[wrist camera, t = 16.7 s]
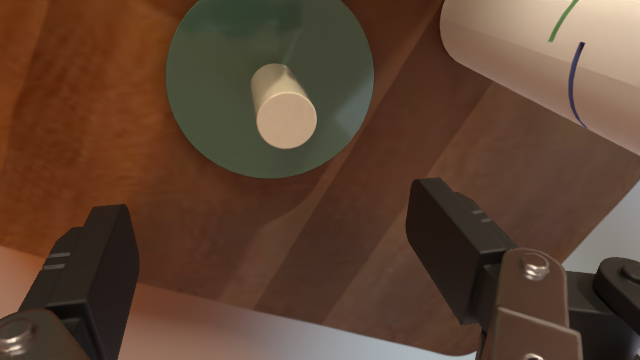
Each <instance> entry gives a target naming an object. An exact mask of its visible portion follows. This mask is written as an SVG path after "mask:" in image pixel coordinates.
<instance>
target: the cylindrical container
mask: <svg viewBox="0 0 640 360" xmlns="http://www.w3.org/2000/svg"><path fill="white" fill-rule="evenodd" d="M440 34H441V39H442V42H443V45H444V47H445V49H446V51H447V52H448V54H449V55H450V56H451V57H452V58H453V59H454V60H455V61H456V62H458V63H460V64H462V65H464V66H466V67H468V68H470V69H472V70H473V71H475V72H477V73H479V74H481V75H483V76H485V77H487V78H489V79H491V80H493V81H495V82H497V83H499V84H501V85H503V86H505V87H507V88H509V89H511V90H512V91H514V92H516V93H518V94H520V95H522V96H524V97H526V98H528V99H530V100H532V101H534V102H536V103H538V104H540V105H542V106H544V107H546V108H548V109H550V110H551V111H553V112H555V113H557V114H559V115H561V116H563V117H565V118H567V119H569V120H571V121H573V122H575V123H577V124H579V125H581V126H583V127H585V128H587V129H589V130H590V131H592V132H595V133H596V134H598V135H600V136H602V137H604V138H606V139H608V140H610V141H612V142H614V143H616V144H618V145H620V146H622V147H624V148H626V149H628V150H629V151H631V152H633V153H635V154H637V155H639V156H640V0H445V1H444V4H443V7H442V11H441V16H440Z"/></svg>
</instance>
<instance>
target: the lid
mask: <svg viewBox="0 0 640 360" xmlns="http://www.w3.org/2000/svg"><path fill="white" fill-rule="evenodd" d="M165 82H166V92H167V97H168V101H169V105H170V108H171V111H172V113H173V116H174V118H175V120H176V122H177V124H178V126H179V128H180V129H181V131H182V132H183V134H184V135H185V137H186V138H187V139H188V141H189V142H190V143H191V144H192V145H193V146H194V147H195V148H196V149H197V150H198V151H199V152H200V153H201V154H203V155H204V156H205V157H206V158H208V159H209V160H211V161H212V162H214V163H215V164H217V165H218V166H220V167H223V168H225V169H227V170H229V171H231V172H234V173H237V174H240V175H244V176H249V177H254V178H265V179H270V178H284V177H291V176H294V175H298V174H302V173H305V172H307V171H310V170H312V169H314V168H316V167H318V166H320V165H322V164H324V163H325V162H327V161H328V160H330V159H331V158H333V157H334V156H335V155H336V154H338V153H339V152H340V151H341V150H342V149H343V148H344V147H345V146H346V145H347V144H348V143H349V142H350V141H351V139H352V138H353V136H354V135H355V134H356V132H357V131H358V129H359V128H360V126H361V124H362V122H363V120H364V118H365V116H366V113H367V111H368V108H369V105H370V101H371V97H372V92H373V85H374V67H373V58H372V53H371V50H370V46H369V43H368V40H367V37H366V35H365V32H364V30H363V29H362V27H361V25H360V23H359V22H358V20H357V18H356V17H355V16H354V14H353V13H352V12H351V10H350V9H349V8H348V7H347V6H346V5H345V4H344V3H343V2H342V1H341V0H198V1H197V2H196V3H195V4H194V5H193V6H192V7H191V8H190V9H189V11H188V12H187V13H186V15H185V16H184V18H183V19H182V20H181V22H180V24H179V26H178V28H177V30H176V32H175V34H174V36H173V38H172V41H171V44H170V47H169V50H168V55H167V61H166V71H165Z"/></svg>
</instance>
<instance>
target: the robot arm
mask: <svg viewBox="0 0 640 360" xmlns="http://www.w3.org/2000/svg"><path fill="white" fill-rule="evenodd" d="M406 234H407V238H408V241H409V243H410V245H411V247H412V248H413V250H414V251H415V253H416V254H417V256H418V258H419V259H420V261H421V262H422V264H423V265H424V267H425V269H426V270H427V272H428V273H429V275H430V277H431V278H432V280H433V281H434V283H435V284H436V286H437V288H438V289H439V291H440V292H441V294H442V295H443V297H444V299H445V300H446V302H447V303H448V305H449V307H450V308H451V310H452V311H453V313H454V314H455V316H456V318H457V319H458V321H459V322H460V324H461V325H466V324H473V323H479V324H480V326H481V327H482V330H481V333H480V337H479V342H478V347H477V353H476V358H475V360H640V356H639V355H638V354H637V353H638V351H639V349H640V262H637V261H634V260H630V259H627V258H619V257H612V258H607V259H605V260H603V261H602V262H601V263H600V265H599V268H598V270H597V272H596V274H591V273H582V272H572V271H565V269H564V267H563V266H562V265H561V264H560V263H559V262H558V261H557V260H556V259H554V258H553V257H551V256H549V255H547V254H545V253H543V252H540V251H537V250H534V249H529V248H519V247H518V246H517V245H516V244H515V243H514V242H513V240H512V239H511V238H510V237H509V236H508V235H507V234H506V233H505V232H504V231H503V230H502V229H501V228H500V227H499V226H498V225H497V224H496V223H495V222H494V221H491V218H490V217H489V216H488V215H487V214H486V213H483V210H482V209H481V208H480V207H479V206H478V205H477V204H476V203H475V202H474V201H473V200H471V199H469V198H468V197H466V196H464V195H462V194H460V193H459V192H453V190H452V189H451V188H450V187H449V186H448V185H447V184H446V183H445V182H444V181H443V180H442V179H441V178H427V179H416V180H414V181H413V182H412V185H411V190H410V197H409V204H408V211H407V218H406ZM139 265H140V264H139V252H138V248H137V243H136V239H135V235H134V231H133V227H132V223H131V218H130V214H129V211H128V208H127V206H126V205H125V204H120V205H109V206H97V207H93V208H92V210H91V212H90V214H89V216H88V218H87V220H86V222H85V224H84V226H83V227H75V228H72V229H70V230H69V231H68V232H67V233H66V234H64V235H63V236H62V237H61V238H60V239H58V240H57V241H56V243H55V245H54V247H53V248H52V250H51V252H50V254H49V258H47V259H46V261H45V263H44V265H43V267H42V270H41V271H40V272H39V274H38V275H37V278H36V279H35V281H34V283H33V284H32V286H31V288H30V290H29V292H28V293H27V295H26V297H25V299H24V301H23V302H22V304H21V306H20V308H19V310H18V312H16V313H13V314H10V315H8V316H6V317H4V318H2V319H0V360H117V359H118V355H119V351H120V347H121V343H122V339H123V335H124V331H125V327H126V323H127V319H128V315H129V311H130V307H131V303H132V299H133V295H134V291H135V287H136V283H137V279H138V275H139Z"/></svg>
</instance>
